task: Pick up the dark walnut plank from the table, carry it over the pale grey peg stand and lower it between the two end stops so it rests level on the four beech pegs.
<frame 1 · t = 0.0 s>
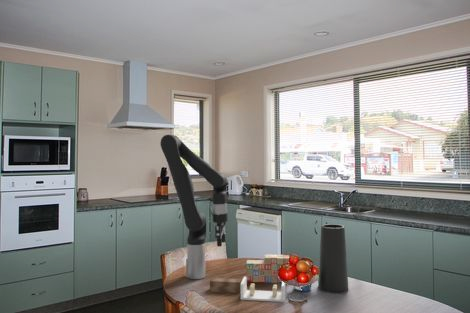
hand: (221, 244, 192), 17 cm above the table, tool pointing down, fingers open, 8 cm apart
stack of blocks: (268, 281, 188), on the table
vase: (333, 288, 177), on the table
snack cup: (302, 289, 175), on the table
peg stand: (263, 296, 166), on the table
plank: (225, 290, 175), on the table
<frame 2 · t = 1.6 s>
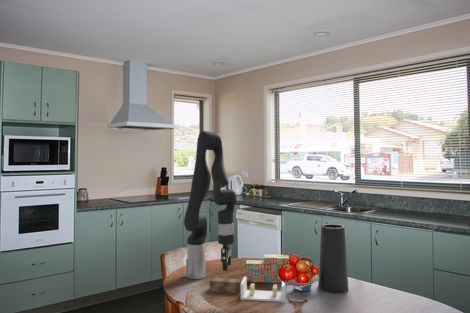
hand: (226, 267, 175), 10 cm above the table, tool pointing down, fingers open, 8 cm apart
nothing on the table moved.
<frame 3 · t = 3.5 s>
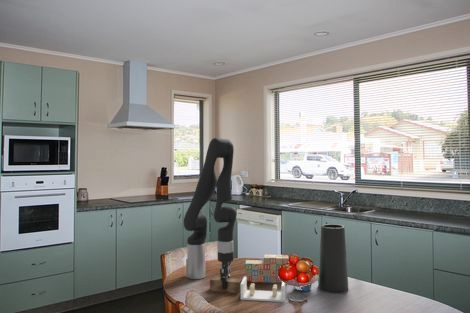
hand: (225, 286, 175), 2 cm above the table, tool pointing down, fingers closed on plank, 4 cm apart
plank: (225, 290, 175), on the table, touching gripper
everything else where it was.
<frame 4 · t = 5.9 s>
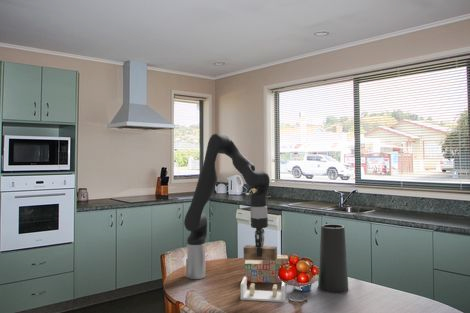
hand: (260, 254, 167), 18 cm above the table, tool pointing down, fingers closed on plank, 4 cm apart
plank: (260, 258, 167), point 17 cm above the table, touching gripper
everything else where it was.
when the fingers open (7 cm above the table, at t = 8.8 s): plank stays where it is, resting on peg stand.
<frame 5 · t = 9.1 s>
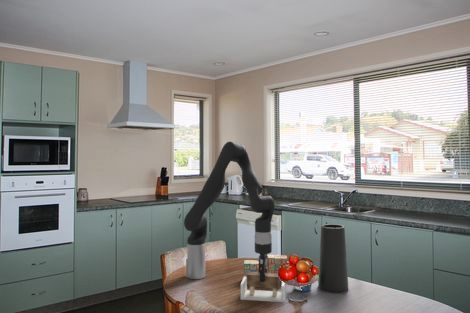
hand: (263, 278, 166), 8 cm above the table, tool pointing down, fingers open, 7 cm apart
plank: (263, 285, 167), point 5 cm above the table, touching peg stand
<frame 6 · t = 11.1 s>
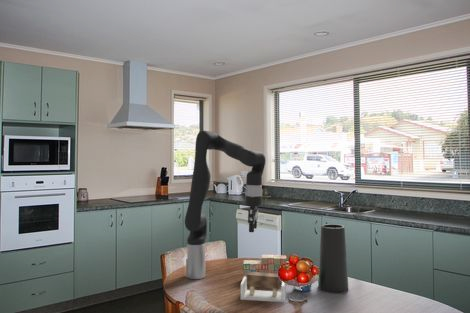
hand: (252, 230, 173), 28 cm above the table, tool pointing down, fingers open, 8 cm apart
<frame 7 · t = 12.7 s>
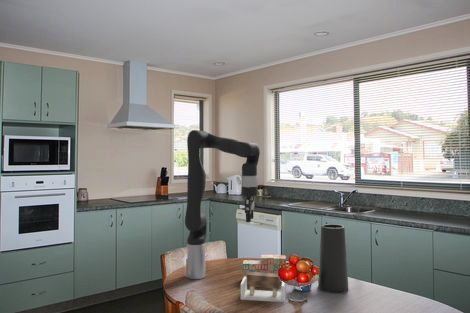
hand: (249, 220, 176), 32 cm above the table, tool pointing down, fingers open, 8 cm apart
at the end: plank 0.1 cm off-centre on the peg stand, point 4.8 cm above the peg stand's base; plank tilted 0°; the gripper is holding nothing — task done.
